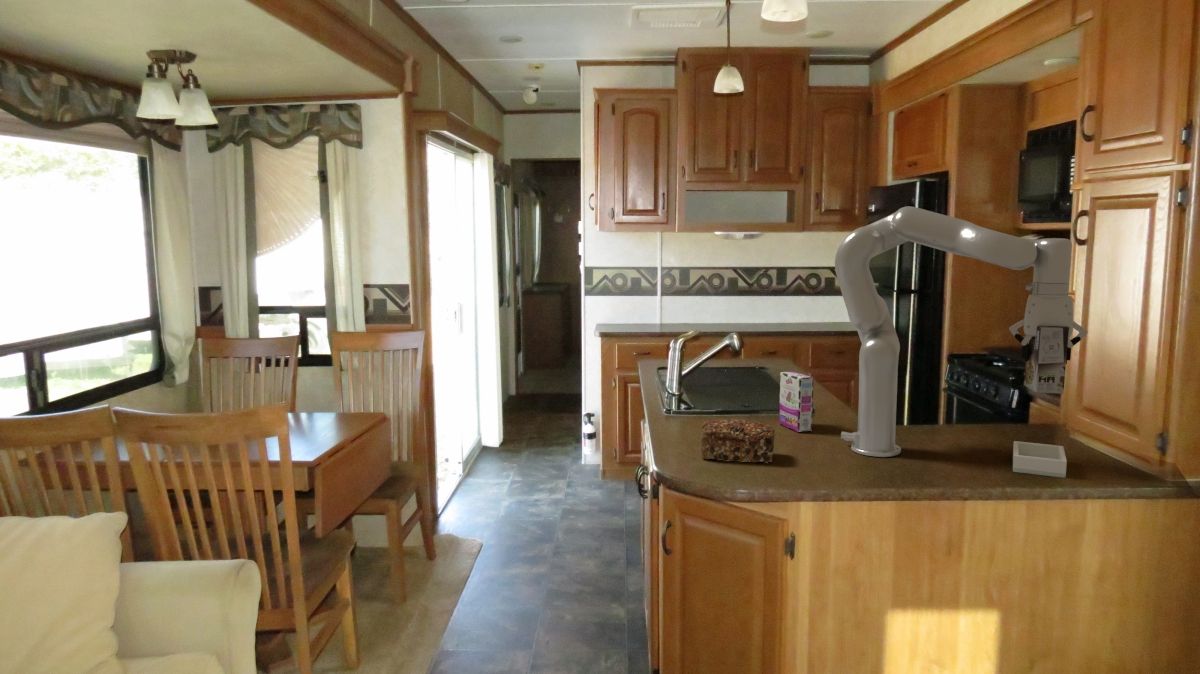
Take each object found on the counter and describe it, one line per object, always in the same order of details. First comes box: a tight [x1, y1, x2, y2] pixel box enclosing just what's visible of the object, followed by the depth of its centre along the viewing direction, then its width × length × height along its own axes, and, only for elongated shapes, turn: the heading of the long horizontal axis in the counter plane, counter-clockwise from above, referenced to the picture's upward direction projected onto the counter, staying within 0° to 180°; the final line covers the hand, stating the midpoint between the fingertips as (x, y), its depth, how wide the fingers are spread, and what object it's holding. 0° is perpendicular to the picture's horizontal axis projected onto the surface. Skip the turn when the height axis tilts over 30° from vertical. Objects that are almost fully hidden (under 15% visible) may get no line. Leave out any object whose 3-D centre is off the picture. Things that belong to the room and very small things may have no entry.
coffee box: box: [1023, 326, 1069, 395], centre depth 185 cm, size 9×6×16 cm
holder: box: [1012, 440, 1068, 479], centre depth 189 cm, size 11×14×4 cm
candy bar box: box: [778, 370, 815, 433], centre depth 227 cm, size 11×5×16 cm, turn 18°
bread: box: [700, 418, 775, 463], centre depth 201 cm, size 19×11×10 cm, turn 75°
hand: (1045, 361), depth 185 cm, fingers closed on coffee box, 7 cm apart
